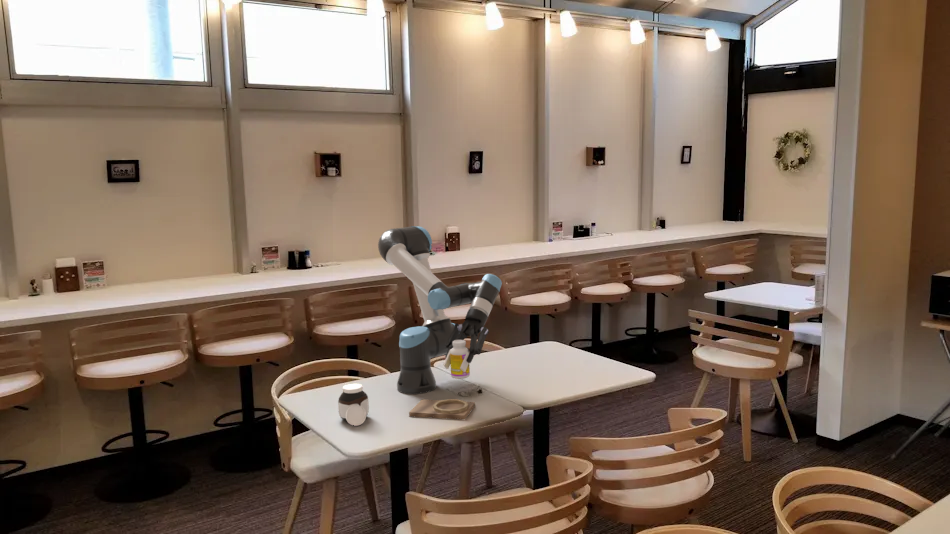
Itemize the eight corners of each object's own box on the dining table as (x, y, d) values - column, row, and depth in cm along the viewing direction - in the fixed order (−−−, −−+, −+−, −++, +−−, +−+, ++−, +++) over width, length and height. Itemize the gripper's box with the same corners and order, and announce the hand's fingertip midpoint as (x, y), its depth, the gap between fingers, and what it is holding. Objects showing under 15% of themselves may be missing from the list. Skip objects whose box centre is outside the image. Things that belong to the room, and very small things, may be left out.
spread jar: (357, 412, 259) (356, 380, 257) (379, 418, 252) (378, 386, 250) (331, 422, 250) (329, 389, 248) (353, 429, 243) (351, 395, 241)
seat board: (409, 416, 253) (408, 409, 253) (422, 403, 267) (421, 396, 266) (464, 419, 248) (464, 412, 248) (475, 406, 262) (474, 399, 261)
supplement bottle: (463, 380, 252) (462, 344, 250) (447, 378, 256) (445, 342, 254) (473, 375, 258) (471, 339, 256) (457, 372, 261) (455, 338, 259)
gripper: (505, 321, 261) (481, 377, 250) (461, 315, 272) (436, 369, 261) (497, 309, 256) (472, 367, 245) (452, 304, 267) (426, 359, 256)
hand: (454, 368), depth 253 cm, fingers closed on supplement bottle, 7 cm apart
